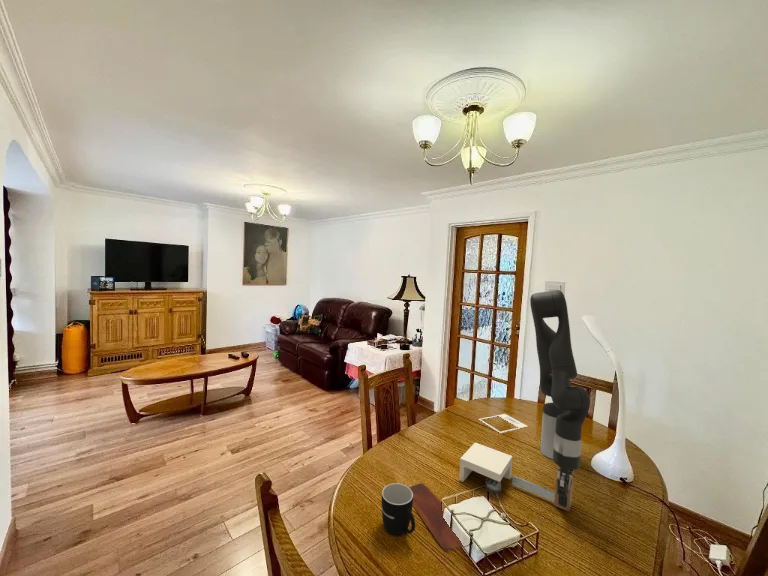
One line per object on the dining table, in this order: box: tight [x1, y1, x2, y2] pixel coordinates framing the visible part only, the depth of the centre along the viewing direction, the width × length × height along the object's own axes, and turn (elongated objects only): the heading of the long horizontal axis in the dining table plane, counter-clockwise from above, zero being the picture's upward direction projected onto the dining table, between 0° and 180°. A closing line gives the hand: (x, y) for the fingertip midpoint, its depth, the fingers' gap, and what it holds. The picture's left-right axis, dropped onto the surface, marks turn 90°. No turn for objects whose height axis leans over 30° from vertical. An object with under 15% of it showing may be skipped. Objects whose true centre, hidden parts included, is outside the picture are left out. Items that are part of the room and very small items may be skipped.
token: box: [485, 477, 502, 495], centre depth 108 cm, size 5×5×2 cm
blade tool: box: [511, 474, 573, 513], centre depth 105 cm, size 18×4×8 cm, turn 52°
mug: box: [381, 482, 416, 537], centre depth 89 cm, size 12×9×10 cm
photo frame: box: [478, 413, 529, 435], centre depth 158 cm, size 15×1×18 cm
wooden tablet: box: [408, 482, 464, 553], centre depth 96 cm, size 27×10×2 cm, turn 23°
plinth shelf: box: [458, 442, 513, 482], centre depth 114 cm, size 14×14×8 cm
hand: (563, 501), depth 101 cm, fingers closed on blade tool, 4 cm apart
